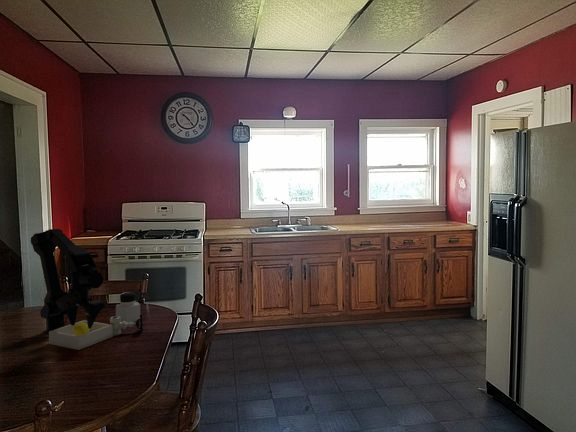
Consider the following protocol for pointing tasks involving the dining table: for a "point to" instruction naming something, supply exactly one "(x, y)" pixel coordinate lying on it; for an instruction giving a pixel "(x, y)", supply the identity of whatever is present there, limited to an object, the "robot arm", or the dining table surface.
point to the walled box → (69, 340)
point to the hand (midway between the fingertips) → (81, 326)
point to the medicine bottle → (128, 308)
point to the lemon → (80, 329)
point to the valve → (124, 324)
